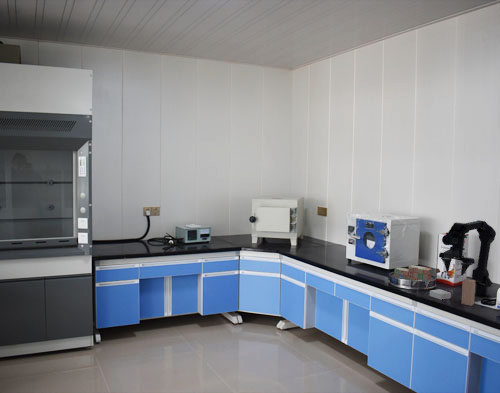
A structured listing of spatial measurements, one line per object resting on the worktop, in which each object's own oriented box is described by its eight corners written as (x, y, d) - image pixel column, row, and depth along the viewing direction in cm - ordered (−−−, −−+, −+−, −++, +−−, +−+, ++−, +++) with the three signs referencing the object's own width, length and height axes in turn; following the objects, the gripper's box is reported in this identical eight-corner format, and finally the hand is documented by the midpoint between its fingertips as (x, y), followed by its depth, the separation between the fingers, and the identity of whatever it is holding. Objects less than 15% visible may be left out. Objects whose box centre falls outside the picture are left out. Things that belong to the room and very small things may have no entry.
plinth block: (439, 294, 263) (439, 289, 263) (450, 298, 256) (451, 292, 256) (429, 295, 260) (429, 290, 260) (440, 299, 253) (441, 294, 252)
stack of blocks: (393, 283, 287) (394, 264, 286) (397, 281, 292) (398, 262, 291) (427, 289, 273) (428, 269, 272) (431, 287, 277) (431, 268, 276)
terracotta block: (464, 301, 250) (465, 278, 249) (474, 303, 246) (475, 280, 245) (461, 303, 246) (462, 280, 245) (471, 305, 243) (472, 282, 242)
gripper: (434, 242, 253) (430, 269, 254) (463, 248, 237) (460, 277, 238) (446, 242, 259) (443, 269, 259) (476, 248, 243) (473, 277, 243)
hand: (454, 273), depth 250 cm, fingers open, 9 cm apart
